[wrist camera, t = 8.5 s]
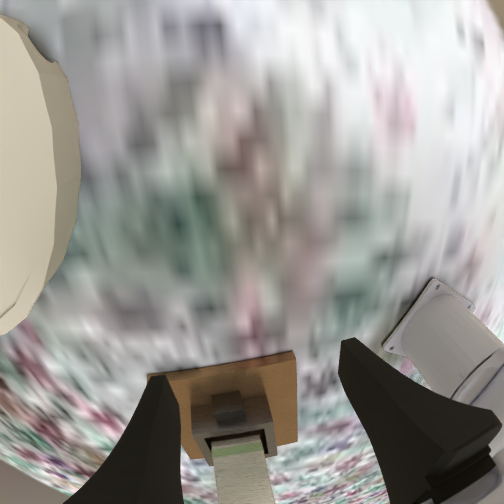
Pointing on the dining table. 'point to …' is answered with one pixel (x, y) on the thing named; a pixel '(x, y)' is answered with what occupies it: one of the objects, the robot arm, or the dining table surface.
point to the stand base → (237, 403)
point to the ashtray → (33, 171)
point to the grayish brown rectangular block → (241, 471)
